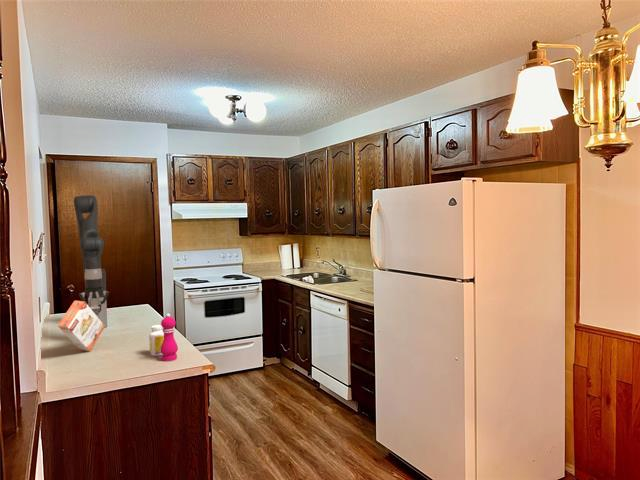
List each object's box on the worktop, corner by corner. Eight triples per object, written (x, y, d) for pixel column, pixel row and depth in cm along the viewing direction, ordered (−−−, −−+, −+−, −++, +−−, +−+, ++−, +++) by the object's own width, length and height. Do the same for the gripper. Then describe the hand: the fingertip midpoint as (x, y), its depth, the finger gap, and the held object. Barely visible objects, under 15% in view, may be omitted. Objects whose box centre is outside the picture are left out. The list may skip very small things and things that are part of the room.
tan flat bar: (89, 315, 234) (89, 309, 235) (100, 314, 236) (100, 308, 237) (87, 309, 219) (87, 302, 219) (99, 308, 221) (99, 301, 221)
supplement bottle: (168, 352, 216) (167, 324, 215) (159, 357, 209) (158, 328, 209) (156, 351, 218) (155, 323, 217) (146, 355, 212) (145, 327, 211)
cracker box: (91, 352, 219) (67, 327, 204) (80, 350, 221) (55, 326, 205) (106, 326, 228) (85, 301, 213) (95, 324, 230) (73, 299, 214)
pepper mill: (163, 356, 209) (161, 312, 208) (179, 356, 210) (178, 311, 209) (158, 362, 202) (157, 315, 201) (176, 361, 203) (174, 315, 202)
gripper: (109, 276, 239) (110, 310, 240) (78, 277, 233) (79, 312, 234) (109, 277, 232) (110, 312, 233) (76, 279, 226) (78, 315, 227)
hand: (95, 312), depth 233 cm, fingers closed on tan flat bar, 3 cm apart
